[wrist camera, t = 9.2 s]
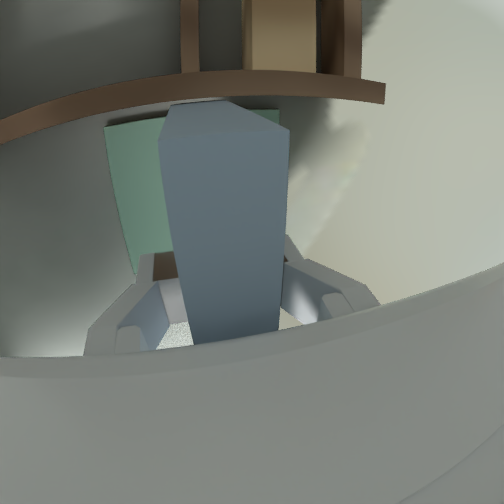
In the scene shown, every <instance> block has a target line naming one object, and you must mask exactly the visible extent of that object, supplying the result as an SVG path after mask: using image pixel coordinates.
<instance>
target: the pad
mask: <svg viewBox="0 0 504 504" xmlns="http://www.w3.org/2000/svg"><path fill="white" fill-rule="evenodd" d="M247 110H249V111H251V112H253V113H256V114H258V115H260V116H262V117H264V118H266V119H268V120H270V121H272V122H274V123H276V124H278V125H279V113H280V110H279V109H247ZM165 119H166V116H164V117H157V118H150V119H144V120H138V121H132V122H126V123H121V124H116V125H111V126H106V127H104V128H103V129H104V136H105V143H106V150H107V156H108V162H109V168H110V174H111V179H112V185H113V190H114V195H115V199H116V204H117V209H118V213H119V217H120V222H121V226H122V230H123V234H124V238H125V242H126V246H127V250H128V253H129V257H130V261H131V264H132V268H133V271H134V274H137V270H138V263H139V256H140V255H141V254H147V253H153V252H154V253H155V252H162V251H171V250H173V245H172V240H171V234H170V228H169V222H168V216H167V210H166V203H165V197H164V190H163V183H162V175H161V167H160V159H159V151H158V142H157V140H158V138H159V135H160V132H161V129H162V127H163V124H164V122H165Z"/></svg>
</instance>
